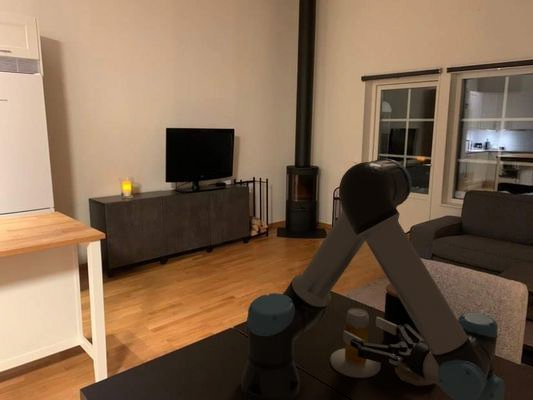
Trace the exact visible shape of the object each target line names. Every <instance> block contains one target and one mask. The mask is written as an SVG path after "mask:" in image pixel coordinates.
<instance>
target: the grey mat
mask: <svg viewBox="0 0 533 400" xmlns="http://www.w3.org/2000/svg"><path fill="white" fill-rule="evenodd" d="M330 364H331V367H332V368H333V369H334V370H335V371H337V372H338V373H339V374H341V375H344V376H345V377H350V378H354V379H355V378H356V379H366V378H371V377H374V376H376V375H377V374H378V373H379V372H380V371H381V368H382V367H381V366H382V363H380V362H376V361H372V360H368V359H367V361H366V362H365V363H364V365H362V366H352V365H350V364H349V363H347V361H346V360H345V347H344V348H340V349H337V350H335V351H334V352H333V353H332V354H331V356H330Z"/></svg>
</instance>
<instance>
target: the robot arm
mask: <svg viewBox="0 0 533 400" xmlns="http://www.w3.org/2000/svg"><path fill="white" fill-rule="evenodd" d="M412 181H413V180H412V177H411V174H410V172H409V170H408V168H406V167H405V166H404V165H403V164H402V163H401V162H399V161H397V160H393V159H391V158H389V159H388V158H378V159H375V160H371V161H365V162H359V163H357V164H354V165H352V166H351V167H349V169H347V170H346V171H345V173H344V174H343V175H342V177H341V179H340V183H339V186H338V197H339V202H340V206H341V208H342V211H341V213H340V214H339V216H338V217H337V219H336V220H335V222H334V223H333V225H332V226H331V228H330V229H329V232H328V233H327V234H326V236H325V238H324V240H323V241H322V243H321V244H320V246H319V247H318V249H317V251H316V252H315V254H314V255H313V257H312V258H311V260H310V262H309V263H308V264H307V267H306V268H305V269H304V271H303V273H299V274H297V275H295V276H294V277H293V278H292V279H291V281H290V283H289V284H288V286H287V288H286V289H285V290H284V292H283V293H275V292H273V293H269V294H263V295H261V296H258V297H256V298H255V299H253V301H251V302H250V304H249V306H248V310H247V317H246V326H247V360H246V364H245V367H244V369H243V372H242V375H241V378H240V379H241V381H240V388H241V389H242V390H241V392H243V393H242V395H243V396H244V395H245V396H246V397H247V398H248V399H250V400H294V399H296V398H297V397H298V395H299V393H300V389H301V386H300V385H301V384H300V383H301V382H300V375H299V372H298V369H297V367H296V363H295V361H294V347H295V346H294V344H295V343H294V342H295V341H296V340H297V339H298V338H300V337H301V336H302V335H303V334H304V333H305V332H308V330H310V329H311V328H312V327H314V326H315V325H316V324H317V323H319V322H320V321H321V320H322V319H323V317H324V316H325V315H326V313H327V310H328V307H329V304H330V302H331V300H332V299H331V298H332V297H331V294H330V292H331V291H332V290H333V288H334V287H335V285H336V284H337V283H338V281H339V280H340V278H341V277H342V275H343V273H344V272H345V271H346V269H347V268H348V267H349V265H350V264H351V262H352V260H353V259H354V258H355V257H356V255H357V253H358V251H359V250H361V247H362V246H363V245H364V243H365V242H366V244H367V247H369V249H370V251H371V252H372V255H373V256H374V257H375V259H376V262H377V263H378V265H379V266H380V268H381V270H382V271H383V273H384V275H385V277H386V278H387V280H388V281H389V284H390V283H391V285H392V287H393V288H394V290H395V292H396V294H397V295H398V297H399V299H400V300H401V302H402V304H403V305H404V307H405V309H406V311H407V312H408V314H409V316H410V317H411V319H412V321H413V322H414V324H415V326H416V328H417V329H418V331H419V333H420V335H419V334H417V333H416V332H415V331H414V330H413V329H412V328H411V327H410V326H409V325H407V324H405V325H404V326H401V325H396V324H393V323H391V322H389V321H387V320H384V318H382V317H380V316H376V318H375V327H378V328H379V329H381V330H385V331H387V332H389V333H391V334H393V335H396V334H397V333H398V336H399V338H400V340H401V342H399V343H398V344H395V345H394V344H389V345H388V346H387V344H378V343H370V342H368V343H364V340H362V339H361V338H359V337H357V336H355V335H353V334H351V333H349V332H348V331H346V329H345V330H343V335H342V342H347V343H348V344H350V345H351V346H352V347H354V348H356V349H358V357H360V358H364V359H368V360H372V361H376V362H380V363H381V364H384V365H387V366H390V367H392V368H394V369H395V368H397V367H398V363H400V362H402V363H405V364H407V365H408V366H407V367H408V368H409V369H410V370H411V371H412V372H414V373H416V374H417V375H419V376H421V377H423V378H426V379H427V380H429V381H431V382H433V384H435V385H436V386H438V387H439V388H440V389H441V390H442V392H444V393H445V395H446V396H448V397H449V398H451V399H453V400H504V397H505V393H506V387H505V381H504V380H503V379H502V378H500V377H498V376H497V375H496V374H494V362H495V355H496V349H497V340H498V338H499V336H498V328H499V327H498V323H497V321H496V320H495V319H494V318H492V317H491V316H489V315H486V314H485V313H480V312H477V311H476V312H474V311H473V312H472V311H468V312H467V311H466V312H463V313H461V314H460V315H458V318H457V316H456V315H455V313H454V311H453V310H452V308H451V307H450V305H449V303H448V302H447V300H446V298H445V296H444V295H443V293H442V292H441V290H440V288H439V287H438V285H437V284H436V281H435V279H434V278H433V276H432V275H431V274H430V272H429V269H428V268H427V267H426V265H425V263H424V262H423V260H422V259H421V257H420V255H419V254H418V252H417V249H415V247H414V245H413V244H412V241H411V240H410V238H409V237H408V236H407V233H406V232H405V230H404V229H403V227H402V226H401V224H400V222H399V219H400V212H399V210H398V208H397V207H399V206H400V205H403V204H404V202H406V200H407V199H408V197H409V196H410V194H411V191H412V187H413V185H412V184H413V182H412ZM245 396H244V397H245ZM246 397H245V398H246ZM247 398H246V399H247ZM248 399H247V400H248Z"/></svg>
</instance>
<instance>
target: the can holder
mask: <svg viewBox="0 0 533 400" xmlns="http://www.w3.org/2000/svg"><path fill="white" fill-rule="evenodd" d="M394 373H395V374H396V375H397V376H398V377H399V378H400V380H401V381H402V382H405V383H408V384H411V385H415V386H416V387H417V386H418V387H422V386H430V385H433V384H434V383H433V382H431V381H429V380H427V379H426V378H423V377H421V376H419V375H417V374H416V373H414V372H412V371H411V370H410V369H409V367H408V365H407V364H405V363H402V362H400V363H398V367H397V368H394Z"/></svg>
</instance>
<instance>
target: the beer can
mask: <svg viewBox="0 0 533 400" xmlns="http://www.w3.org/2000/svg"><path fill="white" fill-rule="evenodd" d="M369 317H370V315H369V313H368V311H366V309H363V308H358V307H352V308H349V309H348V311H347V313H346V319H345V322H346V323H345V330H346V331H348V332H349V333H351V334H353V335H355V336H357V337H359V338H361V339H362V340H364V343H369V342H368V340H369V326H370V325H369V321H370V318H369ZM344 342H345V341H344ZM344 344H345V345H344V348H345V360H346V361H347V363H349V364H350V365H352V366H362V365H364V363H365V362H366V361H367V359H364V358H360V357H358V349H356V348H354V347H352V346H351V345H350V344H348V343H347V342H345V343H344Z"/></svg>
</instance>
